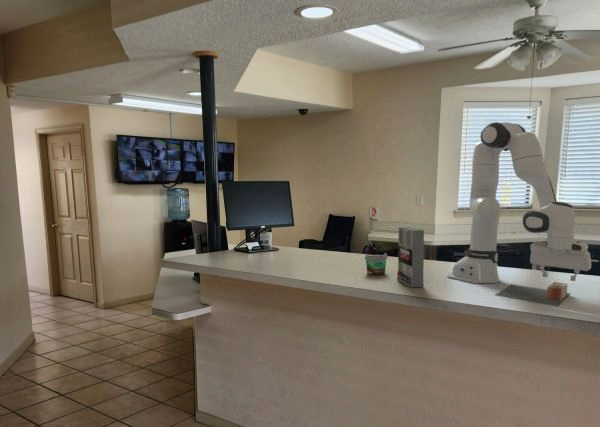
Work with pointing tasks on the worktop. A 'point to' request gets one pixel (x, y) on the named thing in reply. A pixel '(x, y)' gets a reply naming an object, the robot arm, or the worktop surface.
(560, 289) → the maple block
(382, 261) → the food container
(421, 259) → the cassette tape recorder
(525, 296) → the charcoal mat
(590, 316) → the worktop surface
